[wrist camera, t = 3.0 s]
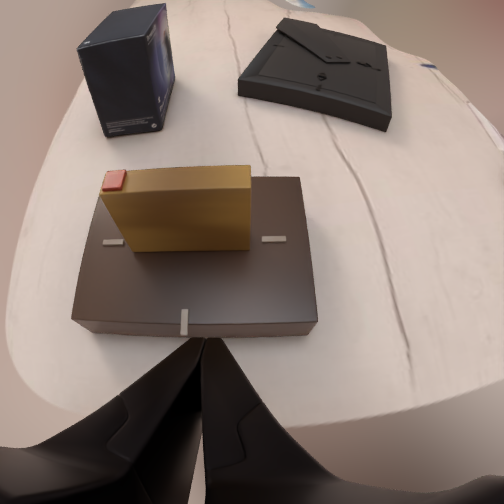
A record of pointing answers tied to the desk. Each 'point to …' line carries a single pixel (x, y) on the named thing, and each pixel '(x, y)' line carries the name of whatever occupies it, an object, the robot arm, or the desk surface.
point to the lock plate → (204, 278)
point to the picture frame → (322, 74)
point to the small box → (130, 69)
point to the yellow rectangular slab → (181, 207)
